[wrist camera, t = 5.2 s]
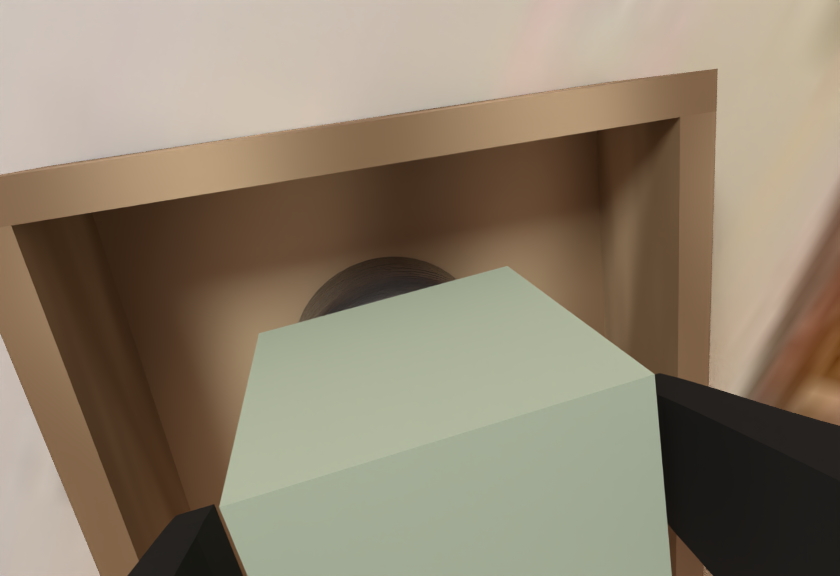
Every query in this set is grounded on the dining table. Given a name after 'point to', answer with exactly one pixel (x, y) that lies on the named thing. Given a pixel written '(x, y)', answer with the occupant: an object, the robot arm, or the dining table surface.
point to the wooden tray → (333, 266)
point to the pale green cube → (448, 443)
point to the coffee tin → (373, 284)
